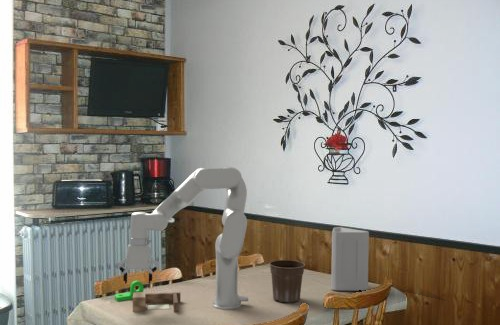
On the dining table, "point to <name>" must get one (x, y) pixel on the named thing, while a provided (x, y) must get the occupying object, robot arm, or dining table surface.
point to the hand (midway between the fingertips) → (137, 282)
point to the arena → (162, 300)
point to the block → (138, 301)
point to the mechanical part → (130, 294)
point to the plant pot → (286, 280)
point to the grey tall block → (349, 259)
